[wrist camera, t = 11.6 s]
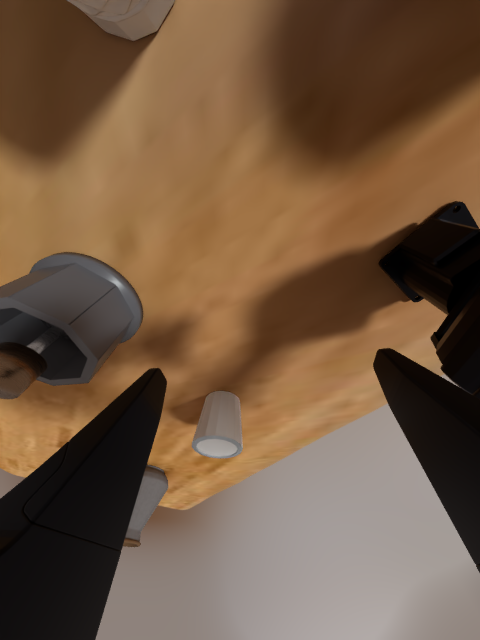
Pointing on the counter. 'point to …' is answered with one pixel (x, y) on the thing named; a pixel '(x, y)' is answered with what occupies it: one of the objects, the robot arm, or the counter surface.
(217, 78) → the counter surface
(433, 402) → the robot arm
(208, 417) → the shot glass
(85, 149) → the counter surface
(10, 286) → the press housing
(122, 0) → the white cup
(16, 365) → the plunger
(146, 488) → the coffee pot
